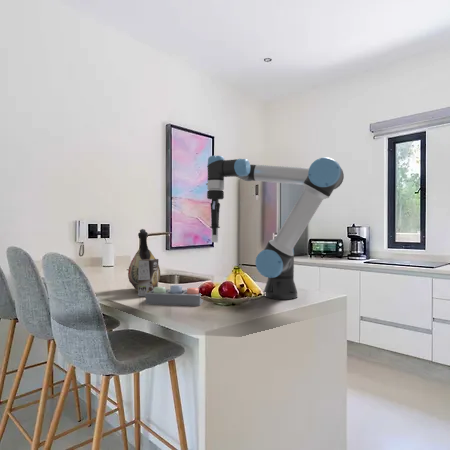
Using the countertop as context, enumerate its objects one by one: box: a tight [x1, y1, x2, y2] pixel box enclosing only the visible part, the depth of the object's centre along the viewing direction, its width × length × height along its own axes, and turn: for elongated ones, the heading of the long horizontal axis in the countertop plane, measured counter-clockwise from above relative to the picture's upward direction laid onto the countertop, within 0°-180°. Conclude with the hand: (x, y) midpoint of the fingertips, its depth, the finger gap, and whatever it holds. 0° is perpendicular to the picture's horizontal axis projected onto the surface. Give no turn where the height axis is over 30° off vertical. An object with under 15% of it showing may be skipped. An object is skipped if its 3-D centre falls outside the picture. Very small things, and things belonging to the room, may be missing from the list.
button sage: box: [154, 286, 167, 293], centre depth 148 cm, size 5×5×4 cm
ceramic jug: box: [127, 228, 161, 292], centre depth 172 cm, size 17×15×30 cm
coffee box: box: [137, 258, 159, 297], centre depth 162 cm, size 9×6×16 cm
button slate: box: [170, 284, 183, 294], centre depth 147 cm, size 5×5×4 cm
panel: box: [145, 288, 204, 307], centre depth 147 cm, size 22×12×4 cm, turn 84°
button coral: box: [186, 287, 200, 294], centre depth 146 cm, size 5×5×4 cm
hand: (214, 242), depth 161 cm, fingers closed
